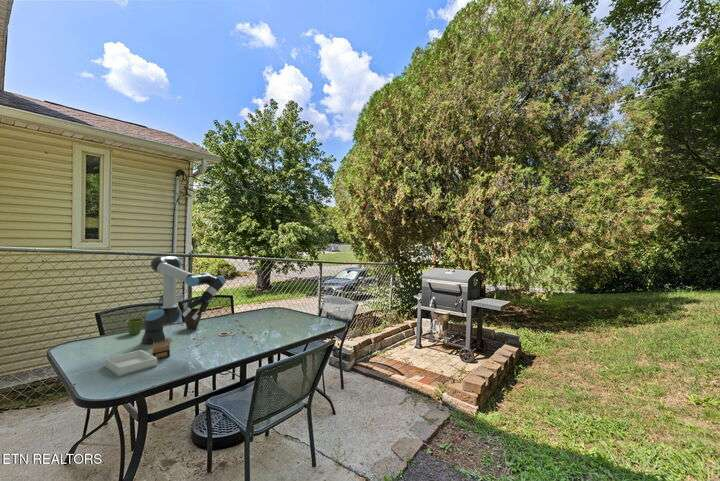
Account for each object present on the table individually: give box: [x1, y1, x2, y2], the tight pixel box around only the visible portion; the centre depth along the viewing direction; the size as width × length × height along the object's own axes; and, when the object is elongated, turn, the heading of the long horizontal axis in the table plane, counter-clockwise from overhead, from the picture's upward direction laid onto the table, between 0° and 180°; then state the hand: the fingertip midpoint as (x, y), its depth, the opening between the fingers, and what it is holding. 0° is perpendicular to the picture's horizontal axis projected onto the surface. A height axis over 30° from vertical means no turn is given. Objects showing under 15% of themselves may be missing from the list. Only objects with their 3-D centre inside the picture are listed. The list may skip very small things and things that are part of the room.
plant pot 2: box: [182, 308, 203, 330], centre depth 278 cm, size 15×15×16 cm
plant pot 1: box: [126, 317, 145, 336], centre depth 256 cm, size 12×12×11 cm
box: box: [103, 349, 158, 377], centre depth 195 cm, size 22×20×5 cm
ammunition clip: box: [151, 338, 171, 361], centre depth 209 cm, size 11×2×12 cm, turn 144°
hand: (188, 317), depth 223 cm, fingers open, 13 cm apart
